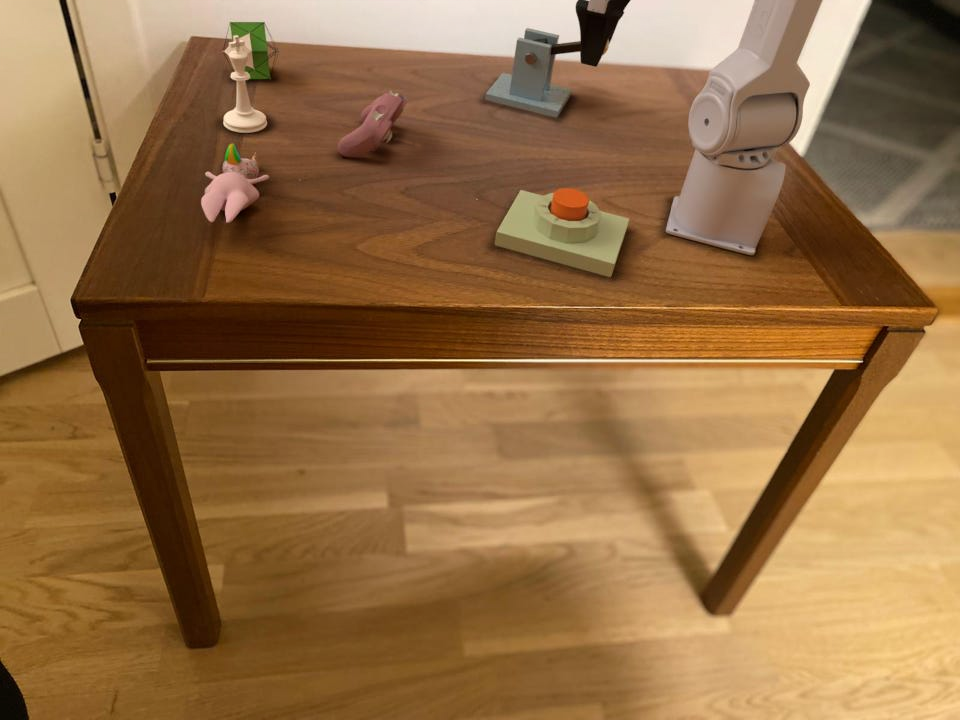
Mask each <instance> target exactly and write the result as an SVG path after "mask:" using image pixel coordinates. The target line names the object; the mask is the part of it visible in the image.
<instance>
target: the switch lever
mask: <svg viewBox="0 0 960 720" xmlns="http://www.w3.org/2000/svg"><path fill="white" fill-rule="evenodd" d="M532 41H536V42H541V43H545V44H548V41H547V38H545V39H537V40H532ZM609 47H610V43H609V40H608V41H607V44H606V47H605V49H604V52H603V55H602V56H604V55H605V54H606V53H607V52H608V50H609ZM571 53H580V40H578V41H570V42H569V41H568V42H561V43H558V44H552V48H551V54H550V55H555V54H556V55H563V54H571Z"/></svg>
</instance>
